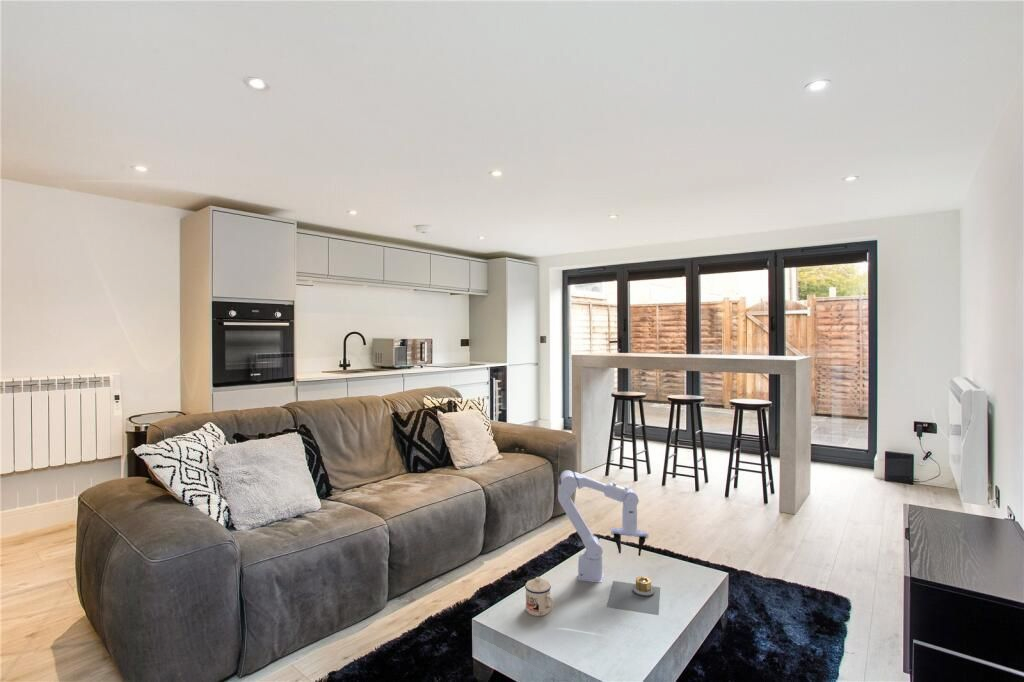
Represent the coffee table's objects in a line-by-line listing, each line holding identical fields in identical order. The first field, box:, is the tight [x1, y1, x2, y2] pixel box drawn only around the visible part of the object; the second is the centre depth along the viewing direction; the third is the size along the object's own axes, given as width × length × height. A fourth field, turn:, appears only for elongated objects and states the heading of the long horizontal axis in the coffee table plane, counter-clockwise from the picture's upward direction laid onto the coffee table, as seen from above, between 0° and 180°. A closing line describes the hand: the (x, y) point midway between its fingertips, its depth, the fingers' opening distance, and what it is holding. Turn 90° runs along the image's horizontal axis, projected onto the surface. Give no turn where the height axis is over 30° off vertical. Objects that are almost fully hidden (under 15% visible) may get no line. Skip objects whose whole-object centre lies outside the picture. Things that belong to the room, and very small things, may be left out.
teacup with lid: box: [524, 576, 555, 617], centre depth 186 cm, size 12×9×12 cm
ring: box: [635, 576, 652, 592], centre depth 199 cm, size 5×5×3 cm
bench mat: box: [606, 580, 661, 616], centre depth 195 cm, size 18×20×1 cm
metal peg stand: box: [633, 579, 655, 597], centre depth 199 cm, size 8×8×4 cm
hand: (629, 553), depth 210 cm, fingers open, 7 cm apart
